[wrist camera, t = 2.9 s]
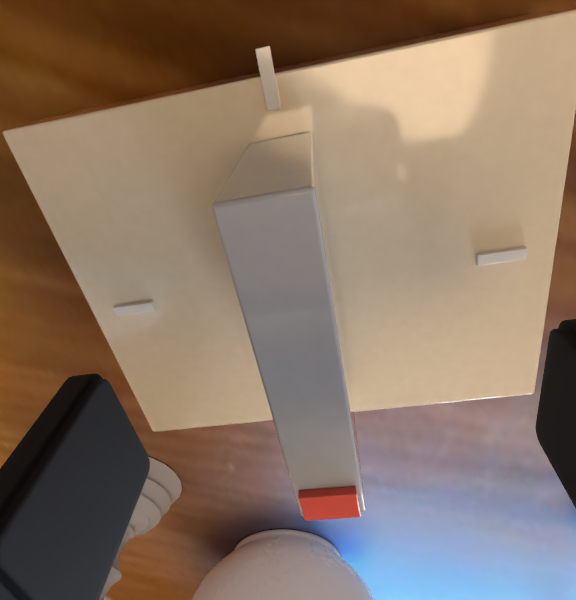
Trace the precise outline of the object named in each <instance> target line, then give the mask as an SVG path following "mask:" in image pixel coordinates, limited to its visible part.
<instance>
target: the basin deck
mask: <svg viewBox="0 0 576 600" xmlns="http://www.w3.org/2000/svg"><path fill="white" fill-rule="evenodd" d="M255 52H256V57H257V62H258V67H259V72H256V73H252V74H247V75H242V76H238V77H233V78H228V79H224V80H219V81H214V82H210V83H205V84H200V85H196V86H191V87H186V88H182V89H177V90H172V91H168V92H163V93H158V94H154V95H149V96H144V97H139V98H135V99H130V100H125V101H121V102H116V103H111V104H107V105H102V106H97V107H93V108H88V109H83V110H79V111H74V112H69V113H65V114H60V115H56V116H52V117H49V118H46V119H42V120H39V121H35V122H32V123H29V124H25V125H22V126H18V127H15V128H12V129H8V130H5V131H3V132H2V133H3V136H4V138H5V140H6V142H7V144H8V146H9V148H10V150H11V152H12V154H13V156H14V158H15V160H16V162H17V163H18V165H19V167H20V169H21V171H22V173H23V175H24V177H25V179H26V181H27V183H28V185H29V187H30V189H31V191H32V193H33V195H34V197H35V199H36V201H37V203H38V205H39V207H40V209H41V211H42V213H43V215H44V217H45V219H46V221H47V223H48V225H49V227H50V229H51V231H52V233H53V235H54V237H55V239H56V241H57V243H58V245H59V247H60V249H61V251H62V253H63V255H64V257H65V259H66V261H67V263H68V264H69V266H70V268H71V270H72V272H73V274H74V276H75V278H76V280H77V282H78V284H79V286H80V288H81V290H82V292H83V294H84V296H85V298H86V300H87V302H88V304H89V306H90V308H91V310H92V312H93V314H94V316H95V318H96V320H97V322H98V324H99V326H100V328H101V330H102V332H103V334H104V336H105V338H106V340H107V342H108V344H109V346H110V348H111V350H112V352H113V354H114V356H115V358H116V360H117V362H118V364H119V366H120V367H121V369H122V371H123V373H124V375H125V377H126V379H127V381H128V383H129V385H130V387H131V389H132V391H133V393H134V395H135V397H136V399H137V401H138V403H139V405H140V407H141V409H142V411H143V413H144V415H145V417H146V419H147V421H148V423H149V425H150V427H151V429H152V431H153V432H158V431H168V430H178V429H188V428H198V427H208V426H218V425H228V424H238V423H248V422H258V421H267V420H273V418H272V414H271V411H270V407H269V404H268V400H267V397H266V394H265V390H264V387H263V383H262V380H261V376H260V373H259V369H258V366H257V363H256V359H255V356H254V352H253V349H252V345H251V342H250V338H249V335H248V332H247V328H246V325H245V321H244V318H243V314H242V311H241V308H240V304H239V301H238V297H237V294H236V290H235V287H234V283H233V280H232V277H231V273H230V270H229V266H228V263H227V259H226V256H225V252H224V249H223V246H222V242H221V239H220V235H219V232H218V228H217V225H216V221H215V218H214V215H213V211H212V204H213V202H214V201H215V199H216V197H217V196H218V194H219V192H220V191H221V189H222V187H223V186H224V184H225V182H226V181H227V179H228V177H229V176H230V174H231V172H232V171H233V169H234V167H235V166H236V164H237V162H238V161H239V159H240V157H241V156H242V154H243V152H244V151H245V149H246V147H247V146H248V145H249V144H252V143H257V142H262V141H267V140H273V139H278V138H283V137H288V136H293V135H299V134H304V133H309V132H310V133H313V135H314V140H315V147H316V154H317V161H318V167H319V174H320V181H321V187H322V194H323V201H324V207H325V214H326V221H327V228H328V234H329V241H330V248H331V254H332V261H333V268H334V274H335V281H336V288H337V294H338V301H339V308H340V315H341V321H342V328H343V335H344V341H345V348H346V355H347V361H348V368H349V375H350V381H351V389H352V397H353V406H354V412H357V411H367V410H377V409H387V408H397V407H407V406H417V405H427V404H437V403H447V402H457V401H467V400H477V399H487V398H497V397H507V396H517V395H527V394H533V393H534V391H535V384H536V377H537V371H538V364H539V357H540V350H541V343H542V336H543V330H544V323H545V316H546V309H547V302H548V295H549V289H550V282H551V275H552V268H553V261H554V254H555V248H556V241H557V234H558V227H559V220H560V213H561V207H562V200H563V193H564V186H565V179H566V172H567V166H568V159H569V152H570V145H571V138H572V131H573V124H574V118H575V111H576V8H573V9H565V10H557V11H549V12H541V13H533V14H527V15H523V16H518V17H513V18H509V19H504V20H499V21H495V22H490V23H485V24H481V25H476V26H471V27H467V28H462V29H457V30H453V31H448V32H443V33H439V34H434V35H429V36H425V37H420V38H415V39H411V40H406V41H401V42H397V43H392V44H387V45H383V46H378V47H373V48H369V49H364V50H359V51H354V52H350V53H345V54H340V55H336V56H331V57H326V58H322V59H317V60H312V61H308V62H303V63H298V64H294V65H289V66H284V67H280V68H275V69H274V65H273V59H272V54H271V48H270V46H266V47H261V48H257V49H255Z"/></svg>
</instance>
